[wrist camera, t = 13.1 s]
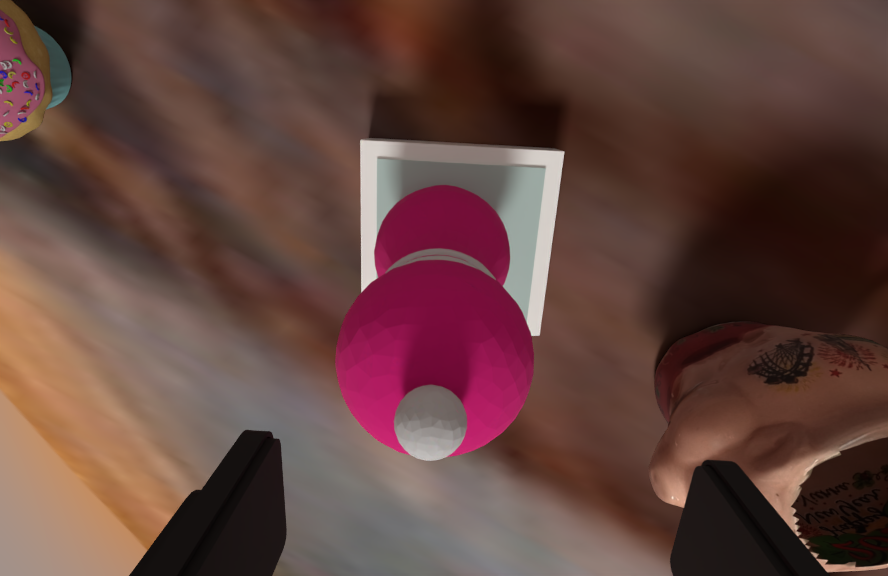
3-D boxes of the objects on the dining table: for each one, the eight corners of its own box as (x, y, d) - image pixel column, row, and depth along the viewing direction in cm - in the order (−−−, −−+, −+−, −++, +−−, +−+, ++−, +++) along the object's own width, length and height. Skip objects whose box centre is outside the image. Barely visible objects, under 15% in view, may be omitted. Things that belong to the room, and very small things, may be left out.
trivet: (532, 318, 35) (539, 336, 32) (368, 309, 35) (361, 327, 32) (553, 148, 31) (565, 151, 28) (368, 137, 31) (360, 140, 28)
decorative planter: (860, 238, 32) (1138, 321, 19) (888, 378, 36) (1138, 528, 23) (584, 352, 36) (663, 488, 23) (636, 470, 39) (729, 646, 26)
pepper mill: (363, 213, 29) (201, 392, 10) (466, 153, 28) (496, 230, 9) (423, 308, 31) (380, 601, 12) (521, 256, 30) (641, 495, 11)
